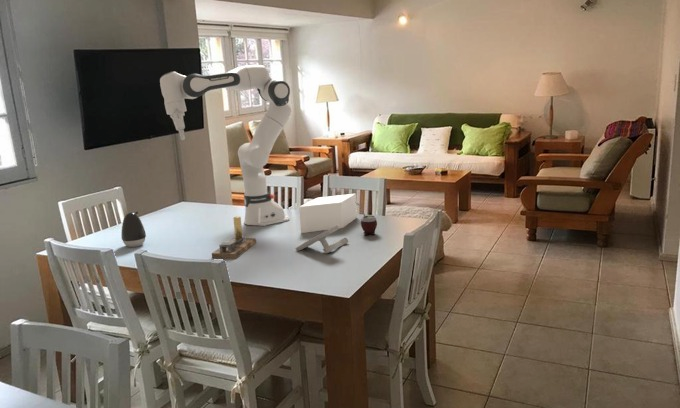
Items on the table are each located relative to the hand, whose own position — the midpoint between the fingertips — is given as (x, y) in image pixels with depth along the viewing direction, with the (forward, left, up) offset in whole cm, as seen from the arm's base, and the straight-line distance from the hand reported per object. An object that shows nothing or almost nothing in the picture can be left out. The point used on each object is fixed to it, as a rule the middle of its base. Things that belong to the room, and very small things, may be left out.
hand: (183, 139), depth 257 cm
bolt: (-13, +34, -42) cm, 55 cm away
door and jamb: (-11, +37, -44) cm, 59 cm away
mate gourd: (-69, +46, -45) cm, 94 cm away
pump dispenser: (+26, +4, -45) cm, 52 cm away
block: (-61, +21, -45) cm, 78 cm away
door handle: (-45, +54, -45) cm, 83 cm away
